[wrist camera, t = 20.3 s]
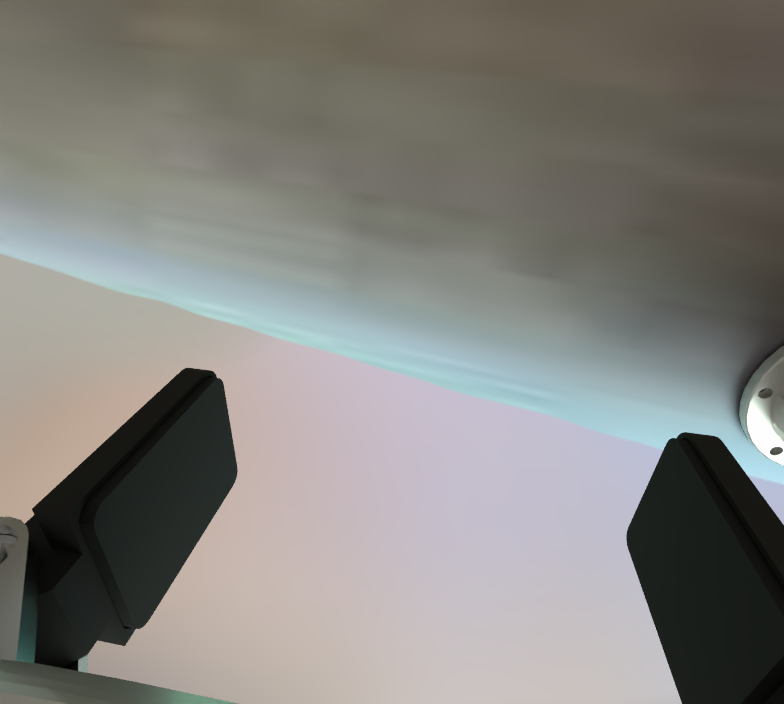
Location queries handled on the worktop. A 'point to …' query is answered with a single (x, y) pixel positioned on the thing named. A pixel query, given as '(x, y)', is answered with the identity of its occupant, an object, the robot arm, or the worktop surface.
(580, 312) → the worktop surface
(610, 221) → the worktop surface
